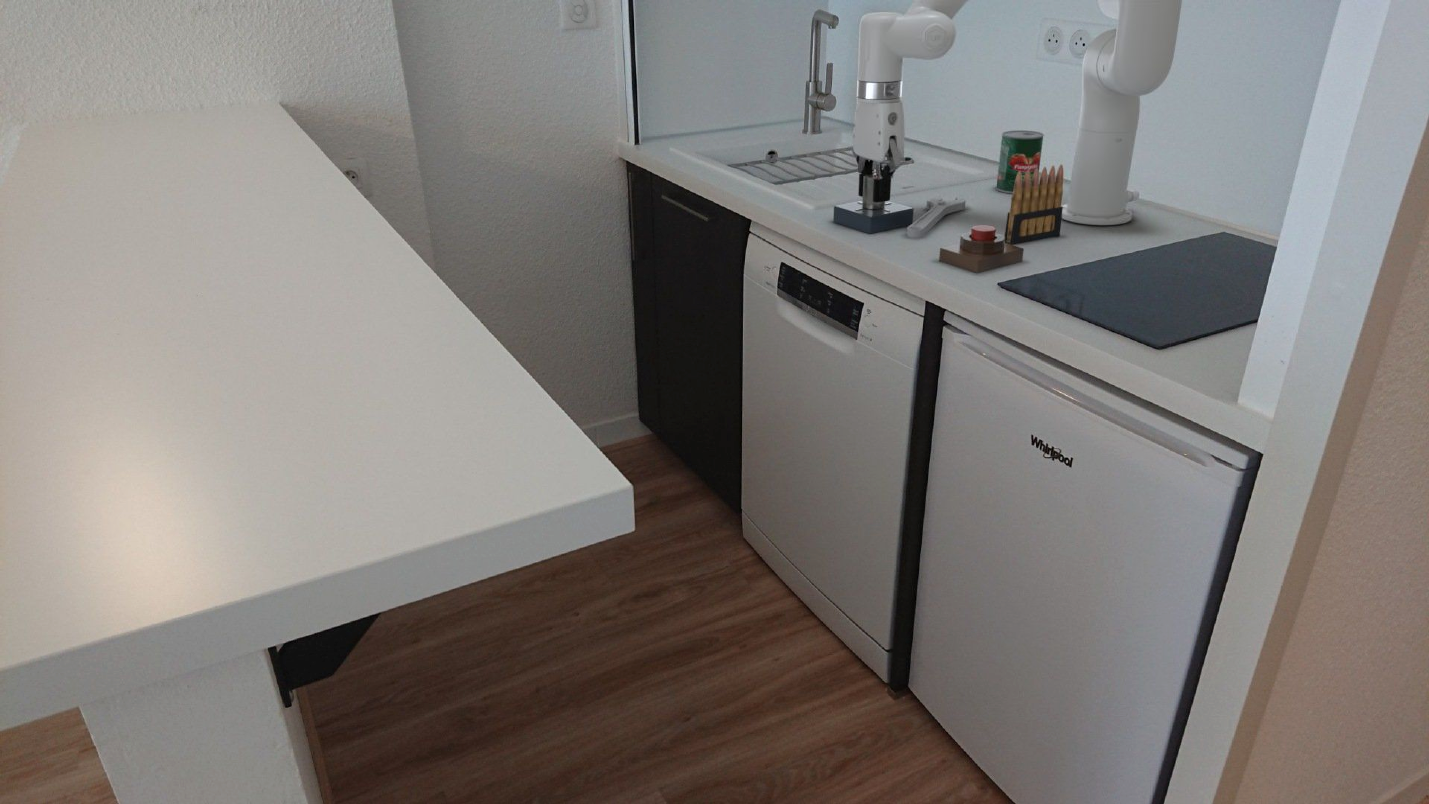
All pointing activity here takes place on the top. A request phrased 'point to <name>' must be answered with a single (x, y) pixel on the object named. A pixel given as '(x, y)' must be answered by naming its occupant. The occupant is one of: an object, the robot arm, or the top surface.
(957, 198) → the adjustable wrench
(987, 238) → the release button
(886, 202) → the block
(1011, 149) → the canned tomato
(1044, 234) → the ammunition clip
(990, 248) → the block
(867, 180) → the silver upright cylinder
